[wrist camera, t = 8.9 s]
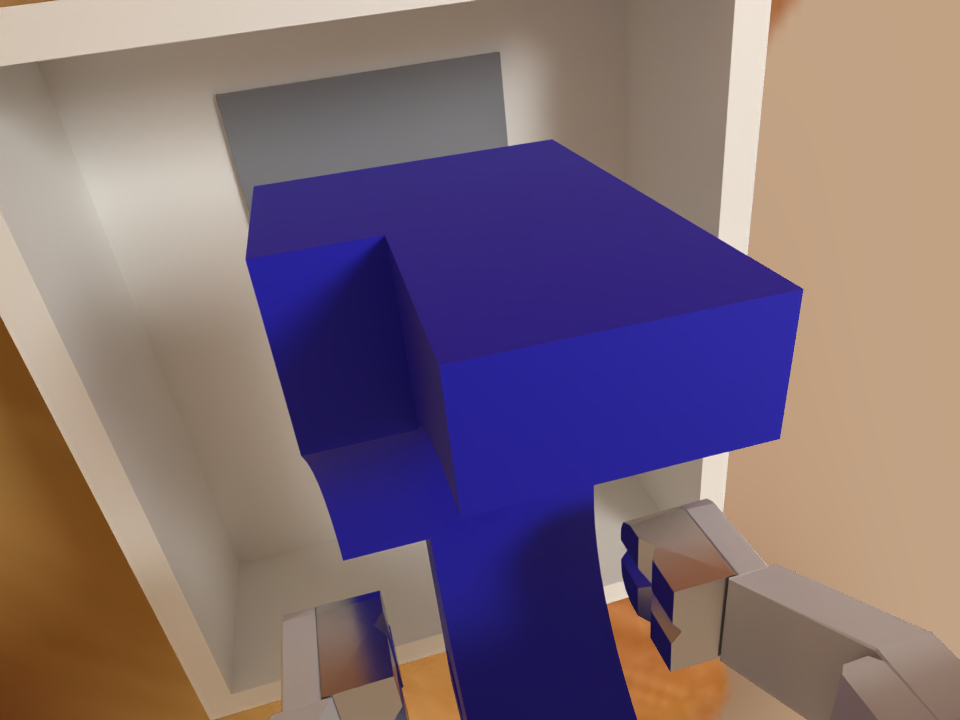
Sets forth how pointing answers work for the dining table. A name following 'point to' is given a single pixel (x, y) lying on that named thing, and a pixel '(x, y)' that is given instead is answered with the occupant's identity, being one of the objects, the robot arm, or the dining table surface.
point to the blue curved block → (509, 386)
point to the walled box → (223, 242)
